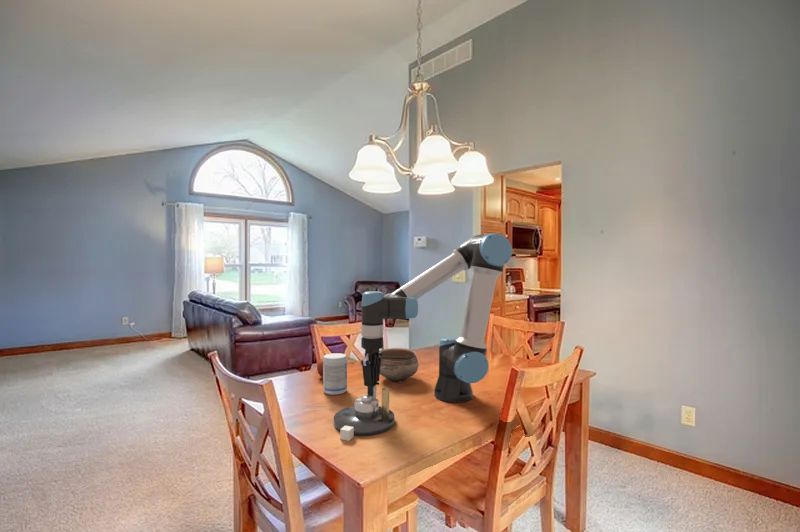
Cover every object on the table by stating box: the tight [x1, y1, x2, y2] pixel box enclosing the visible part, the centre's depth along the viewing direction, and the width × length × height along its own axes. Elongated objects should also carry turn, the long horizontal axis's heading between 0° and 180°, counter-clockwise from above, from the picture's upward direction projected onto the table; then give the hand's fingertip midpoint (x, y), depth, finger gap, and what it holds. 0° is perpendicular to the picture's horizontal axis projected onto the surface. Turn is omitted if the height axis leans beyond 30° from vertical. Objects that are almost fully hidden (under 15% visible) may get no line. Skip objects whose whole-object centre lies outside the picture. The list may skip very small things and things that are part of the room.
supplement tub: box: [322, 352, 348, 396], centre depth 162 cm, size 10×10×15 cm
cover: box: [354, 394, 380, 420], centre depth 133 cm, size 8×8×6 cm
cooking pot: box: [379, 347, 419, 383], centre depth 178 cm, size 25×19×12 cm
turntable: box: [333, 387, 395, 437], centre depth 132 cm, size 20×20×12 cm
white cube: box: [339, 426, 355, 442], centre depth 121 cm, size 3×3×3 cm
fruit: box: [316, 358, 323, 378], centre depth 180 cm, size 11×10×10 cm
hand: (371, 404), depth 138 cm, fingers closed
